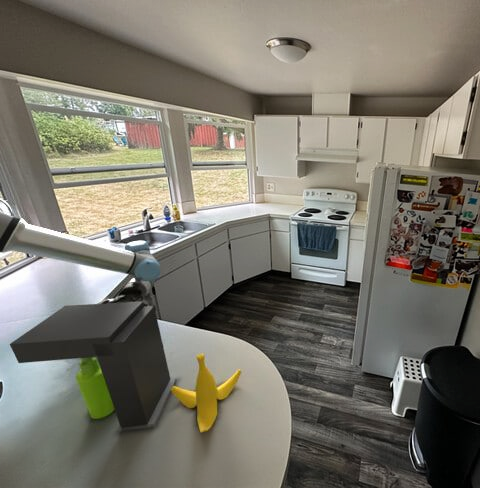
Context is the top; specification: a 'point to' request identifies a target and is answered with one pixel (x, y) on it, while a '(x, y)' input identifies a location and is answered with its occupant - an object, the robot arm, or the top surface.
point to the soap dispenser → (94, 388)
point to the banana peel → (205, 394)
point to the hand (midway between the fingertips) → (107, 327)
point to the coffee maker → (109, 354)
